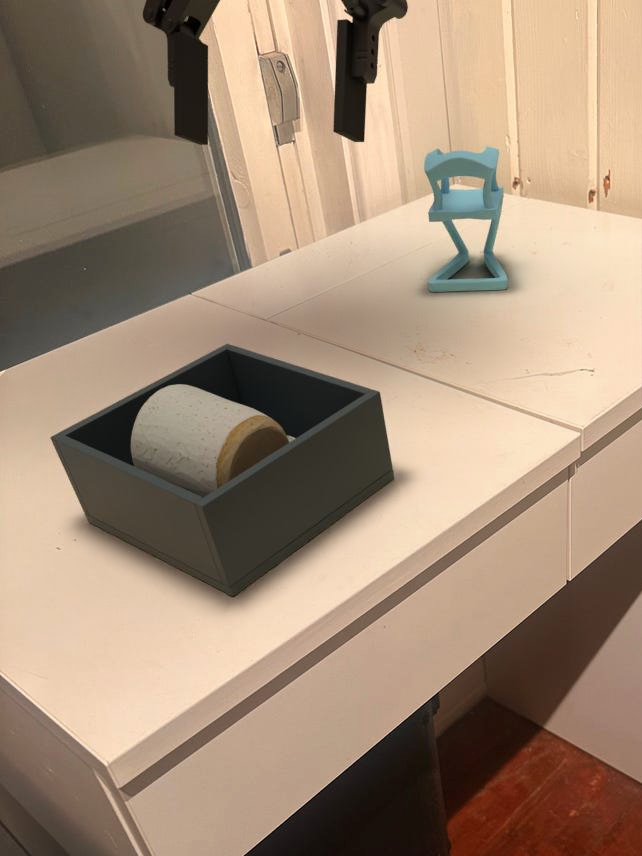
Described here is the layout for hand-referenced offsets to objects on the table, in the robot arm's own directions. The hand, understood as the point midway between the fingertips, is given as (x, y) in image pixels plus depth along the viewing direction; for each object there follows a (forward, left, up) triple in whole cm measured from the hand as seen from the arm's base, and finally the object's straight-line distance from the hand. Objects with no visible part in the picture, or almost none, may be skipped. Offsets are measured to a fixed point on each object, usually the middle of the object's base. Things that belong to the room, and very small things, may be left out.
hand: (267, 139), depth 64 cm
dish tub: (+8, -16, -19) cm, 26 cm away
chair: (-2, +24, -19) cm, 31 cm away
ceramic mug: (+8, -16, -18) cm, 25 cm away
